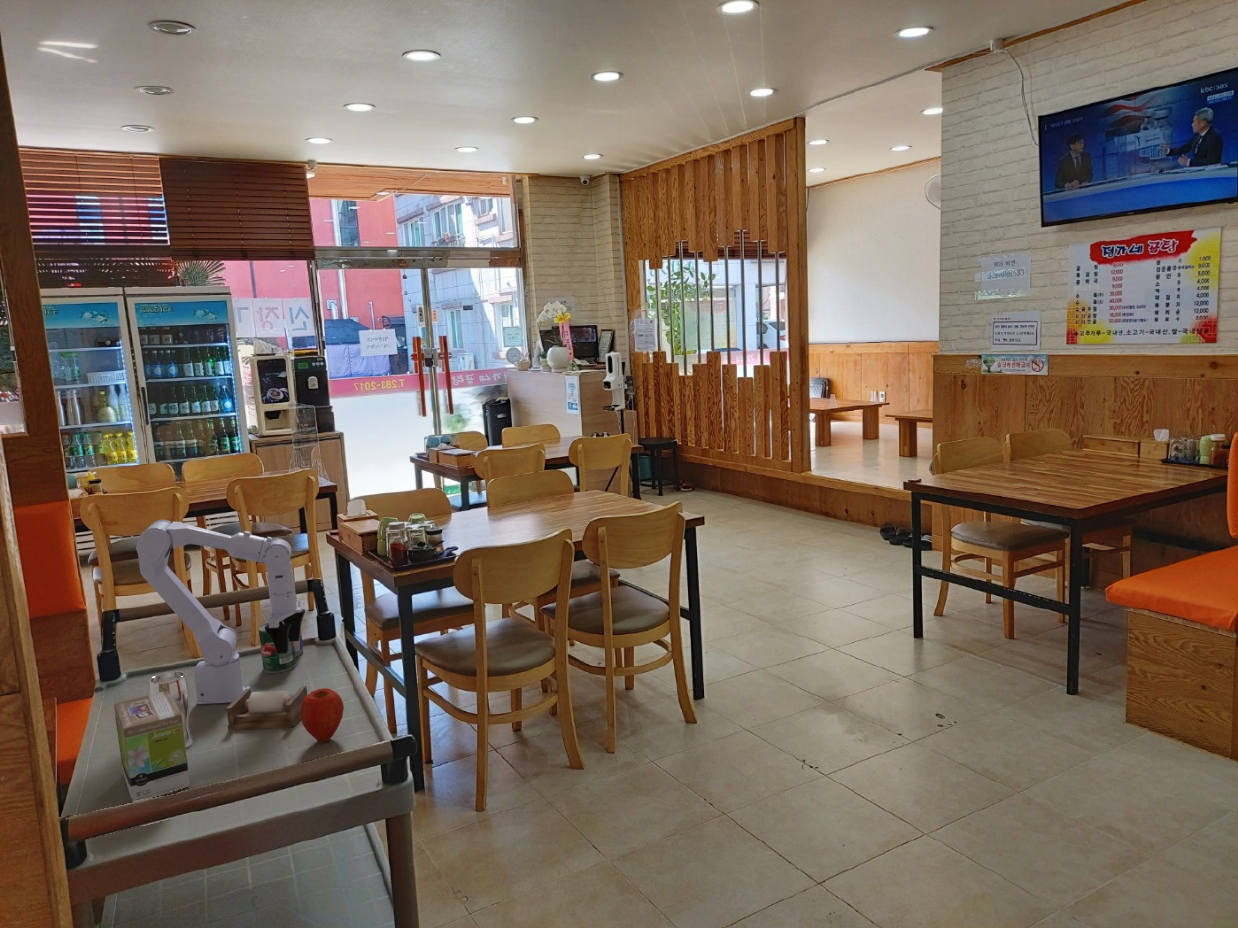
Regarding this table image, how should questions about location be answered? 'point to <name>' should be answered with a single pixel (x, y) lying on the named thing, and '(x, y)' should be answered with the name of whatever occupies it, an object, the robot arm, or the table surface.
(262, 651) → the canned tomato
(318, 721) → the apple
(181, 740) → the tea box
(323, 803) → the table surface
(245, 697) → the holder
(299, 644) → the energy drink
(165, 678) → the beer glass
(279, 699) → the roll
